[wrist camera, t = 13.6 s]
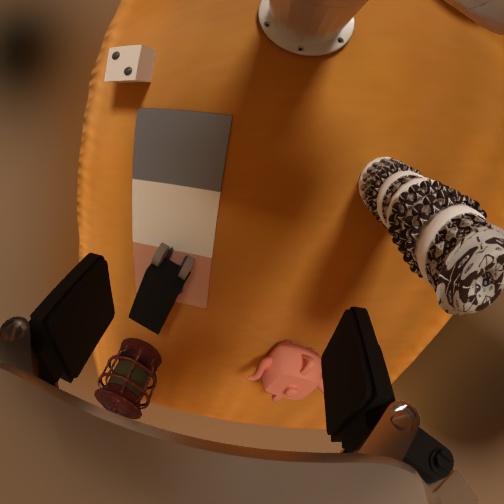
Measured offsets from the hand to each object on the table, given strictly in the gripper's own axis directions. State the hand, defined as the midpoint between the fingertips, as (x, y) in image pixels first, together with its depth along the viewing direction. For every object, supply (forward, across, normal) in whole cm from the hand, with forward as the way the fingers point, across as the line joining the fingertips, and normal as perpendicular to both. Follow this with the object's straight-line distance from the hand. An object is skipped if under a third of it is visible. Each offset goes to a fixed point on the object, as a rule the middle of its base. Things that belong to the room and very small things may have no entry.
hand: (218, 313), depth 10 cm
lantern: (+30, +20, +47) cm, 59 cm away
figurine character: (+30, +12, +22) cm, 39 cm away
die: (+30, +20, -12) cm, 38 cm away
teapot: (+30, -13, +36) cm, 49 cm away
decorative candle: (+31, -18, -1) cm, 35 cm away
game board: (+30, +12, +11) cm, 34 cm away
